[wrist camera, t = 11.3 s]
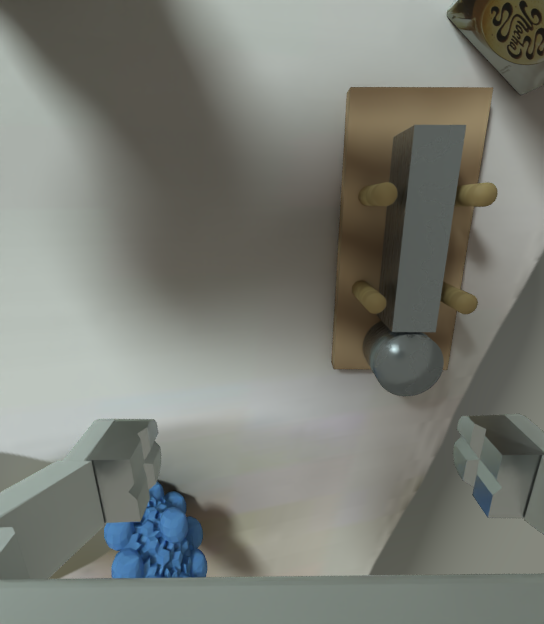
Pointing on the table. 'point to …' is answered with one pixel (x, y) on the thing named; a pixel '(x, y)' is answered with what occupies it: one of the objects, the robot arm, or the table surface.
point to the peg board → (370, 222)
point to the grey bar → (415, 258)
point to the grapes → (158, 541)
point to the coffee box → (506, 37)
